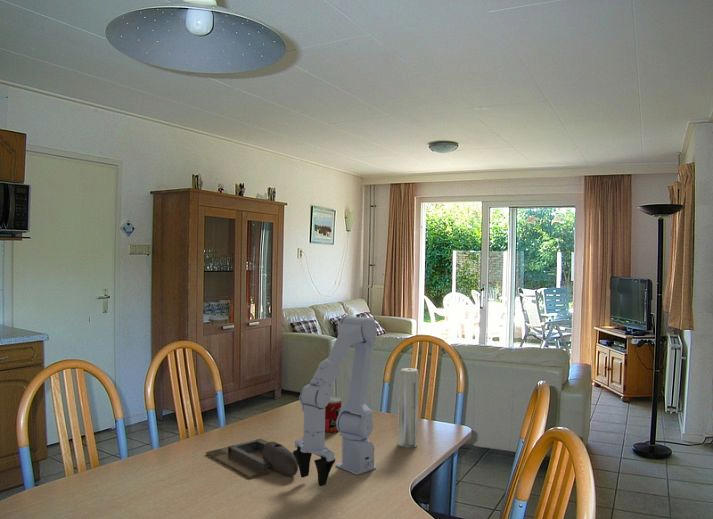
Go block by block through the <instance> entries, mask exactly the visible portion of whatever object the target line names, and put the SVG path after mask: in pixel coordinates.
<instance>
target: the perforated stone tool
mask: <svg viewBox="0 0 713 519" xmlns="http://www.w3.org/2000/svg"><path fill="white" fill-rule="evenodd" d="M267 442H268V443H266V444H265V445H264V449H263V453H262V460H263V461H265V462H267V463H268V468H270V469H272V470H274V471H276V472H278V473H281V474H283V475H285V476H290V477H293V476H295V475H297V473H298V471H299V466H298V463H297V461H296V459H295V457H294V455H293V454H292V453H293V452H292V453H291V451H290V450H289V449H288V448H287V447H285V446H284V445H283V444H280V443H278V442H276V441H267Z"/></svg>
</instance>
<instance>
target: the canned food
mask: <svg viewBox="0 0 713 519" xmlns="http://www.w3.org/2000/svg"><path fill="white" fill-rule="evenodd" d="M342 403H343V400H342V398H341V397H339V396H331V395H330V401H329V403H328V405H327V406H326V407H325V433H339V431H338V430H337V426H336V421H337V418H338V416H339V413H340V408H341V407H342V406H343V405H342Z"/></svg>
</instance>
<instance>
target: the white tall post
mask: <svg viewBox="0 0 713 519" xmlns="http://www.w3.org/2000/svg"><path fill="white" fill-rule="evenodd" d="M419 374H420V372H419V369H417V368H412V367H406V368H401V369H400V371H399V372H398V407H397V408H398V413H397V414H398V417H397V418H398V419H397V421H398V422H397V446H399V447H401V448H405V449H411V448H416V447H417V446H418V445H419V444H418V442H419V439H418V436H419V434H418V433H419V432H418V431H419V386H420V385H419V381H420V380H419V379H420V377H419V376H420V375H419Z"/></svg>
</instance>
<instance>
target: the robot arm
mask: <svg viewBox="0 0 713 519" xmlns="http://www.w3.org/2000/svg"><path fill="white" fill-rule="evenodd" d="M377 328H378V326H377V324H376V323H375V320H374V319H373V318H372V317H359V316H349V315H344V316H343V317H342V318H340V321H339V323H338V325H337V337H336V339H335V341H334V344H333V345H332V347H331V350H330V353H329V355H328V357H327V359H326V360H323V361H321V362H320V364H319V365H318V367H317V370H316V371H315V373H314V374H313V376H312V378H311V380H310V382H309V383H308V384H306V385H304V386H303V387H302V389H301V391H300V393H299V394H300V395H299V397H298V398H299V399H298V400H299V402H300V404H301V410H302V412H303V439H301V438H299V439H296V440H294V448H296V450H293V451H292V453H293V454H294V456H295V458H296V460H297V463H298V471H299V474H300V477H301V478H306V477H308V476H309V474H310V466H311V459H312V455H313V454H314V455H315V456H318V457H320V458H318V459H314V464H315V468H316V472H317V482H318V483H317V484H318V486H319V487H322V486H326V485H327V482H328V479H329V475H330V472H331V470H332V467H333V466H334V464H335V467H337V468H340V469H342V470H344V471H347V472H349V473H351V474H353V475H357V476H358V475H360V474H361V475H362V474H364V473H366V472H370V471H372V470H376V468H377V466H375V445H374V443H373V442H372V441H370V440H369V436H371V434H372V433H373V429H374V423H373V422H374V421H373V413H374V412H373V411H372V409H371V408H369V407H368V405H367V404H366V403H367V396H368V389H369V381H370V380H369V379H370V373H371V367H372V366H371V364H372V359H373V358H372V357H373V352H374V351H373V350H374V347H375V345H376V337H377ZM351 346H353V348H354V353H353V354H354V356H353V362H352V368H351V377H350V382H349V383H350V384H349V391H348V398H347V402H346V403H344V404H343V405H342V407H341V408H340V413H339V416H338V418H337V421H336V426H337V430H338V433H339V437H342V438H341V462H337V463H336V458H335V452H334V451H332V450H331V449H329V448H328V447H327V446H326V445H325V444H326V443H325V442H326V432H325V407H326V406H327V405H328V403H329V401H330V396H331V395H332V394H331V393H332V387H333V385H334V383H335V381H336V379H337V378H338V375H339V374H340V368H339V365H340V363H341V361H342V359H344V357H345V356H346V354H347V352H348V351H349V349H350V347H351Z"/></svg>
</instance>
